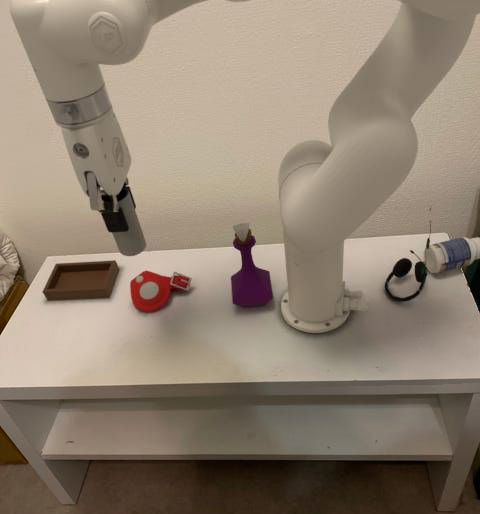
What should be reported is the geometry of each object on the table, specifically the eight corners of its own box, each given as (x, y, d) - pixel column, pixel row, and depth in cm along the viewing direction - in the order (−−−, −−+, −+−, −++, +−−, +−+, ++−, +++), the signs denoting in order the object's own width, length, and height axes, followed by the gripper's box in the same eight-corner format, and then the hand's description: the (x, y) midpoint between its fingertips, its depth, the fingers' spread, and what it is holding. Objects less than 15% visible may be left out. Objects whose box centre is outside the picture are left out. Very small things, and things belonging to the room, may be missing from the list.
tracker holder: (143, 318, 91) (116, 283, 95) (151, 326, 95) (125, 293, 99) (193, 278, 93) (164, 246, 97) (199, 288, 97) (171, 257, 101)
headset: (455, 191, 83) (403, 291, 80) (465, 215, 88) (416, 309, 86) (418, 187, 87) (368, 281, 85) (430, 210, 93) (383, 299, 90)
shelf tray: (119, 269, 104) (115, 260, 102) (109, 297, 98) (105, 288, 96) (60, 272, 106) (55, 263, 104) (47, 300, 100) (42, 291, 98)
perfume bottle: (233, 288, 95) (218, 213, 82) (270, 283, 95) (261, 206, 81) (235, 315, 90) (219, 241, 77) (274, 310, 90) (265, 234, 76)
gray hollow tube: (130, 236, 81) (111, 182, 73) (152, 242, 79) (134, 188, 71) (113, 252, 79) (92, 199, 71) (135, 259, 77) (115, 205, 69)
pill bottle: (439, 272, 86) (491, 260, 87) (433, 243, 86) (484, 231, 87) (426, 275, 92) (474, 263, 92) (420, 247, 92) (468, 236, 92)
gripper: (90, 134, 55) (135, 254, 69) (122, 72, 66) (155, 187, 80) (29, 139, 56) (85, 257, 70) (71, 78, 67) (112, 190, 81)
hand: (122, 219), depth 75 cm, fingers closed on gray hollow tube, 4 cm apart
